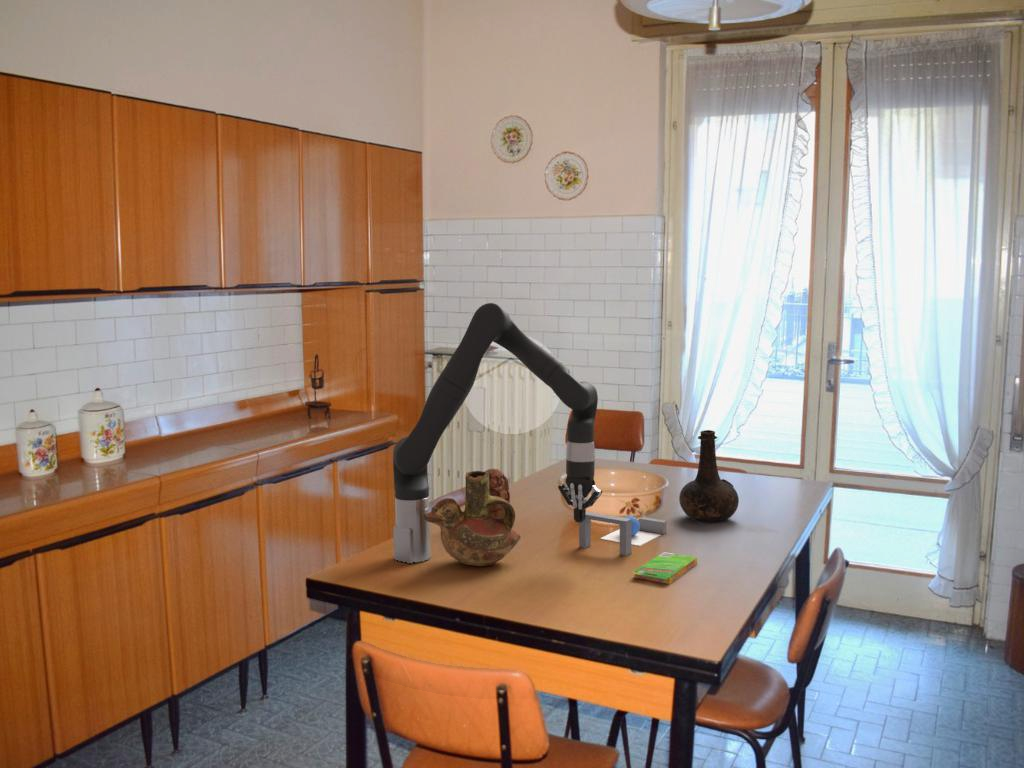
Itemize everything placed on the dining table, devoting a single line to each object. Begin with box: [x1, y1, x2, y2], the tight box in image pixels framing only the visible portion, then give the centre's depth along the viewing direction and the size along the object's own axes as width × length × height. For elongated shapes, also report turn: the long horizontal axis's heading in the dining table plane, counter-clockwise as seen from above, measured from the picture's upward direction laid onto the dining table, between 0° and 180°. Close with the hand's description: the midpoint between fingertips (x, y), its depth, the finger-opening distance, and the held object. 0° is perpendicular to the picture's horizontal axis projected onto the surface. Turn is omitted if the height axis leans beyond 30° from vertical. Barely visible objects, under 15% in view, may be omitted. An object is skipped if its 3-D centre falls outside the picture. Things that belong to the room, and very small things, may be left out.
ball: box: [618, 515, 640, 536], centre depth 271 cm, size 6×6×6 cm
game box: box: [632, 551, 698, 585], centre depth 240 cm, size 3×10×20 cm
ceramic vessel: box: [424, 470, 521, 567], centre depth 246 cm, size 17×26×25 cm, turn 105°
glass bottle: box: [678, 429, 739, 524], centre depth 287 cm, size 18×18×28 cm
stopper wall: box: [638, 516, 667, 535], centre depth 278 cm, size 2×13×4 cm, turn 54°
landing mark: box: [599, 529, 662, 547], centre depth 271 cm, size 13×13×1 cm
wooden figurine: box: [484, 468, 511, 518], centre depth 282 cm, size 12×6×18 cm, turn 143°
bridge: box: [578, 511, 632, 557], centre depth 258 cm, size 3×15×10 cm, turn 54°
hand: (579, 521), depth 246 cm, fingers closed
